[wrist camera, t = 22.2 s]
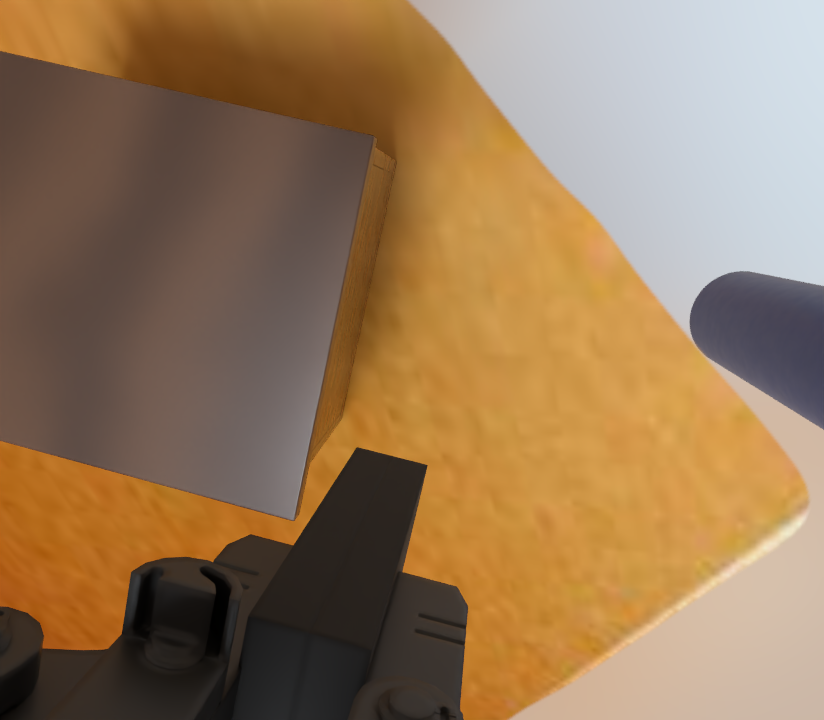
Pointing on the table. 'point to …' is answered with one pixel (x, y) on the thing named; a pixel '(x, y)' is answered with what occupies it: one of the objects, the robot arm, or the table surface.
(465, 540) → the table surface
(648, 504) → the table surface
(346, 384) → the chest
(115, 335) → the lid
